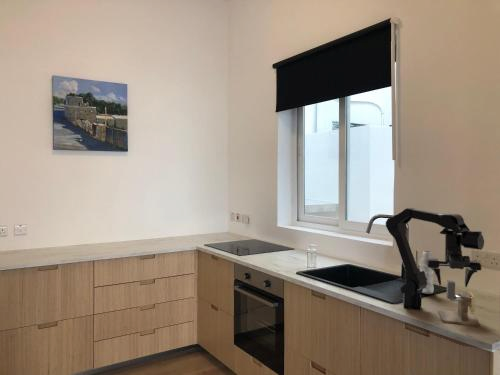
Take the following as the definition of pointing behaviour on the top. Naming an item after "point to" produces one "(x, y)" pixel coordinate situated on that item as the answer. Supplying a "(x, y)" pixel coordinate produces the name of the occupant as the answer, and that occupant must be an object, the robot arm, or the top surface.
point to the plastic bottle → (427, 272)
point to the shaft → (452, 292)
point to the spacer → (472, 302)
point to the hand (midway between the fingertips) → (452, 286)
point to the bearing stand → (460, 312)
